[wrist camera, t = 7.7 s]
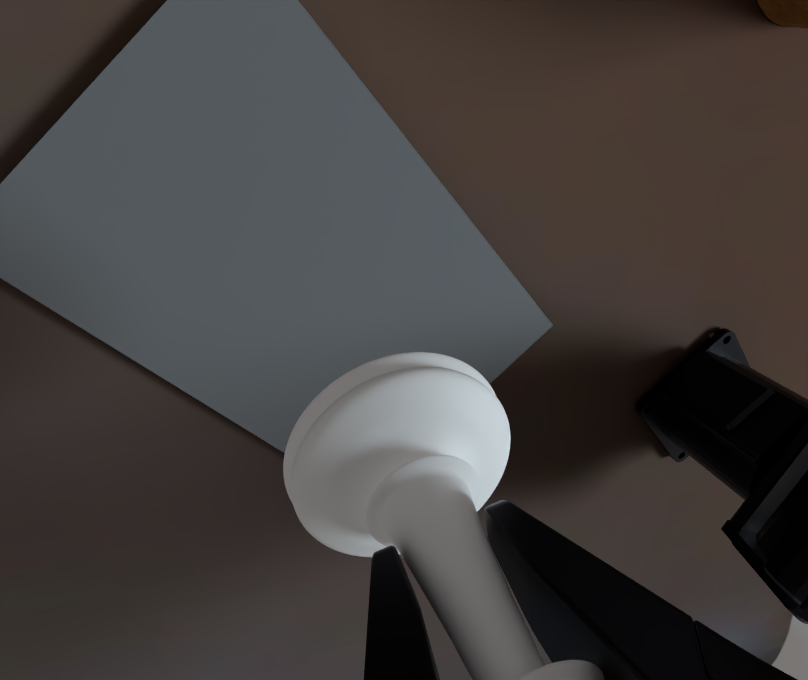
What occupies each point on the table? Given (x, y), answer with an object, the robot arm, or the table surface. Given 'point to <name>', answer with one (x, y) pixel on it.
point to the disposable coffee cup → (786, 12)
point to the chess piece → (420, 496)
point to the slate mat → (251, 220)
